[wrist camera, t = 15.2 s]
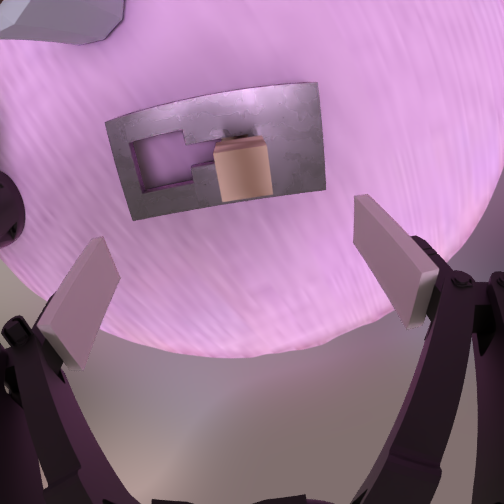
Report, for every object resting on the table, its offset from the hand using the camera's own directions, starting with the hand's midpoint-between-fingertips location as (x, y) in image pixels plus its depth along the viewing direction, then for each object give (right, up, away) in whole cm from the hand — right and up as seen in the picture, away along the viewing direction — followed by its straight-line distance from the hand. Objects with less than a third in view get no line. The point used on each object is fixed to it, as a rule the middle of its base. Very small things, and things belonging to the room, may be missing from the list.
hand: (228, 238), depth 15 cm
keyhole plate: (-3, +14, +25) cm, 29 cm away
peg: (0, +15, +25) cm, 29 cm away
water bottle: (-21, +33, +13) cm, 41 cm away
